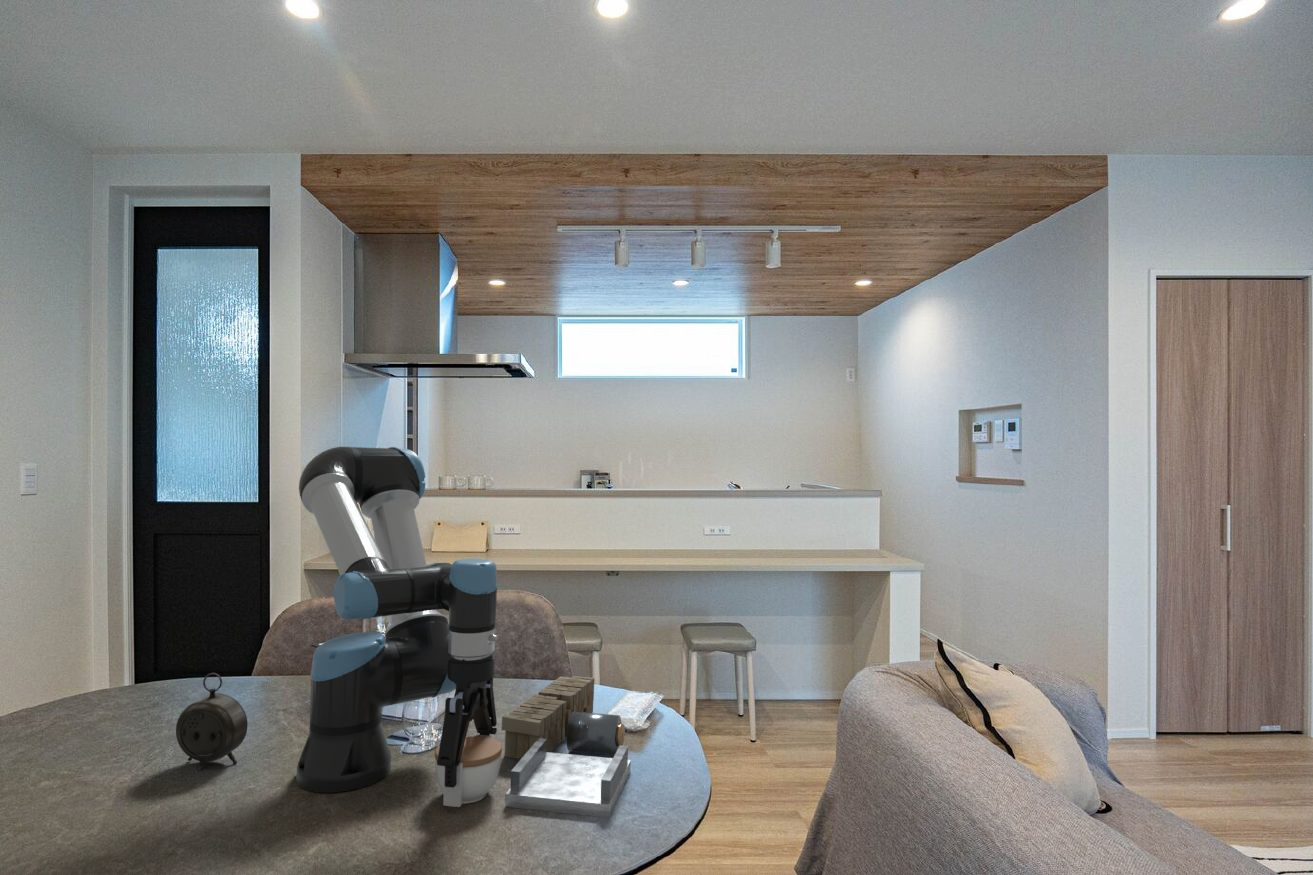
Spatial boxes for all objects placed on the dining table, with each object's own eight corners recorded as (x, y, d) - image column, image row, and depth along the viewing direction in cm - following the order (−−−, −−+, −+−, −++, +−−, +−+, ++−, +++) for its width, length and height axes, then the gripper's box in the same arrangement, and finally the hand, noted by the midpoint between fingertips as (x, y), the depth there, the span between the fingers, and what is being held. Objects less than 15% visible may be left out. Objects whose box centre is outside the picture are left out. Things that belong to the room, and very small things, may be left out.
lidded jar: (483, 814, 112) (485, 753, 113) (420, 806, 114) (422, 746, 115) (510, 784, 123) (512, 728, 123) (452, 777, 125) (454, 722, 125)
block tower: (561, 712, 161) (498, 760, 133) (562, 674, 162) (500, 713, 133) (594, 716, 159) (537, 765, 131) (595, 677, 159) (539, 718, 131)
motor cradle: (505, 806, 115) (506, 762, 115) (556, 740, 142) (557, 704, 142) (608, 817, 112) (610, 772, 112) (641, 748, 139) (641, 711, 140)
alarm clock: (247, 760, 130) (251, 669, 130) (227, 773, 124) (231, 679, 125) (190, 757, 131) (194, 667, 131) (168, 770, 125) (171, 676, 126)
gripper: (463, 676, 107) (458, 826, 107) (517, 638, 130) (514, 761, 129) (416, 672, 108) (411, 821, 108) (478, 635, 131) (474, 758, 131)
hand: (467, 788), depth 119 cm, fingers closed on lidded jar, 11 cm apart
